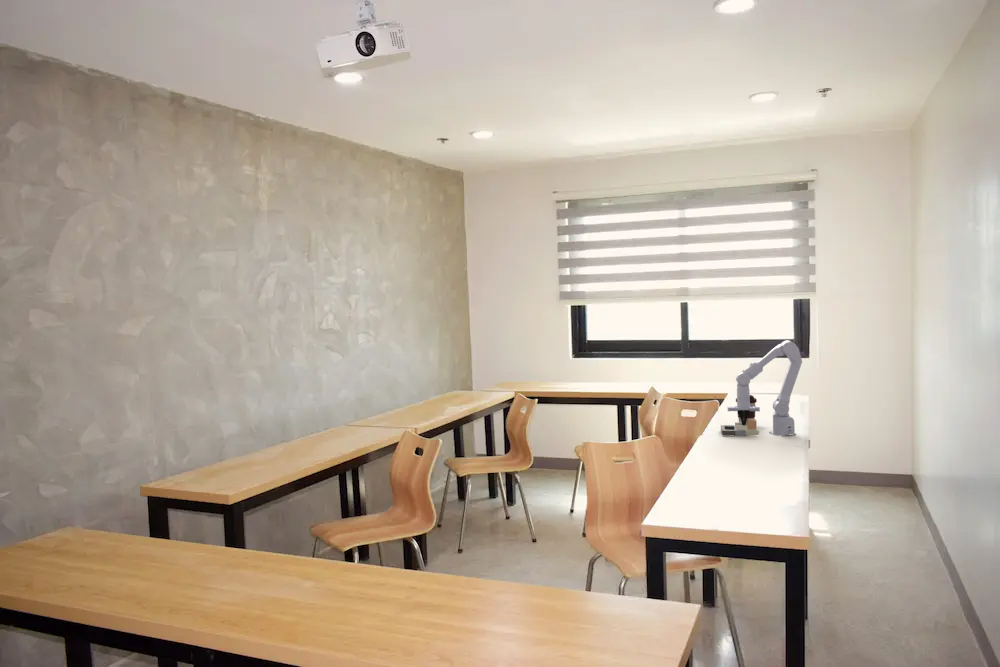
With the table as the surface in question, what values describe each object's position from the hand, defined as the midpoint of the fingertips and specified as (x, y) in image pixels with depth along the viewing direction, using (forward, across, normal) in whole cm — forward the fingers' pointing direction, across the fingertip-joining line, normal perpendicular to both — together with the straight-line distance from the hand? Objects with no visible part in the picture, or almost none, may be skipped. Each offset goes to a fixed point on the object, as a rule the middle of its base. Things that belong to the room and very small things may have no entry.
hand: (743, 426), depth 352 cm
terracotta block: (+1, +4, 0) cm, 4 cm away
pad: (+3, +3, 0) cm, 5 cm away
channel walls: (+1, -1, 0) cm, 1 cm away
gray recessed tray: (+3, -5, 0) cm, 6 cm away
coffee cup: (+4, +3, +19) cm, 20 cm away
